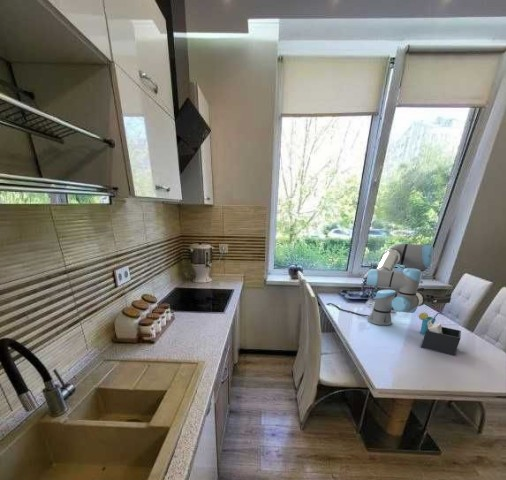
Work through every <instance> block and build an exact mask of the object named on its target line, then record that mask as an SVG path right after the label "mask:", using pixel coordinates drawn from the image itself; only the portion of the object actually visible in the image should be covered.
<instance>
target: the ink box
mask: <svg viewBox="0 0 506 480" xmlns="http://www.w3.org/2000/svg"><path fill="white" fill-rule="evenodd" d="M429 322H430V324H429ZM427 324H428V330H429V331H431V332H436V333H440V334H443V333H442V327H443V326H442V322H437V323H434V324H432V322H431V320H429V321H428V322H427Z"/></svg>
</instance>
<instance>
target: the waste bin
mask: <svg viewBox="0 0 506 480" xmlns="http://www.w3.org/2000/svg"><path fill="white" fill-rule="evenodd" d="M441 327H442V333H443V334H440V333H436V332H431V331H429V330H428V326H427V329H426V332H425V335H424V334H423V339H422V343H421V346H420V348H422V349H425V350H430V351H434V352H438V353H442V354H447V355H449V356H455V355H456V352H457V349H458V347H459V344H460V341H461V339H462V330H460V329H455V328H449V327H445V326H441Z"/></svg>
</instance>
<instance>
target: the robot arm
mask: <svg viewBox="0 0 506 480" xmlns="http://www.w3.org/2000/svg"><path fill="white" fill-rule="evenodd" d="M433 256H434V246H432V245H429V244H419V243H418V244H415V243H397V244H394V245H391V246H390V247H387V248H386V249H385V250H384V251H383V252H382V254H381V257H380V262H379V263H378V265H377V267H376V268H371V269H369V271H368V273H367V277H366V284H367V285H369V286H374V287H382V288H391V289H381V290H378V291H376V295H375V296H374V297H375V300H374V303H373V309H372V311H371V313H370V314H362V313H358V312H356V311H355V312H354V311H351V310H347V309H343V308H341V307H339V306H338V305H337V304H334V303H332V302H329V303H326V305H331V306H334V307H336V308H337V309H338V310H340V311H344V312H347V313H352V314H355V315H358V316H363V317H368V319H367V320H368V322H369V323H371V324H373V325H376V326H384V327H385V326H390V325H391V324H392V311H395V312H398V313H407V314H414V313H415V312H416V311H417V309H418V307H421V306H423V305H425V304H426V303H431V304H433V305H434V304H450V303H451V300H452V293H448V294H444V295H433V294H428V293H425V292H424V290H425V288H424V287H420V288H419V286H420V284H421V279H422V276H423V273H424V272H425V271H426V270H427V269H429V268H431V266H432V262H433ZM396 265H397V266H404V269H403V271H394V270H395V267H396ZM394 289H397V290H398V292H396V290H394Z"/></svg>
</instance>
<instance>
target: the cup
mask: <svg viewBox="0 0 506 480" xmlns="http://www.w3.org/2000/svg"><path fill="white" fill-rule="evenodd" d="M438 315H443V316H444V315H445V313H444V312H437V313H436V314H435V315H434V316H429V315H428V313H426V312H421V313H419V315H418V318H419V320H421V321H422V322H421V326H420V334H421V335H423V336H424V335H425V332H426V329H427V326H428V324H427V322H428V321H429V320H431V322H432V324H435V323H436V321H437V320H436V318H437V316H438ZM429 324H430V322H429Z"/></svg>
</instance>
